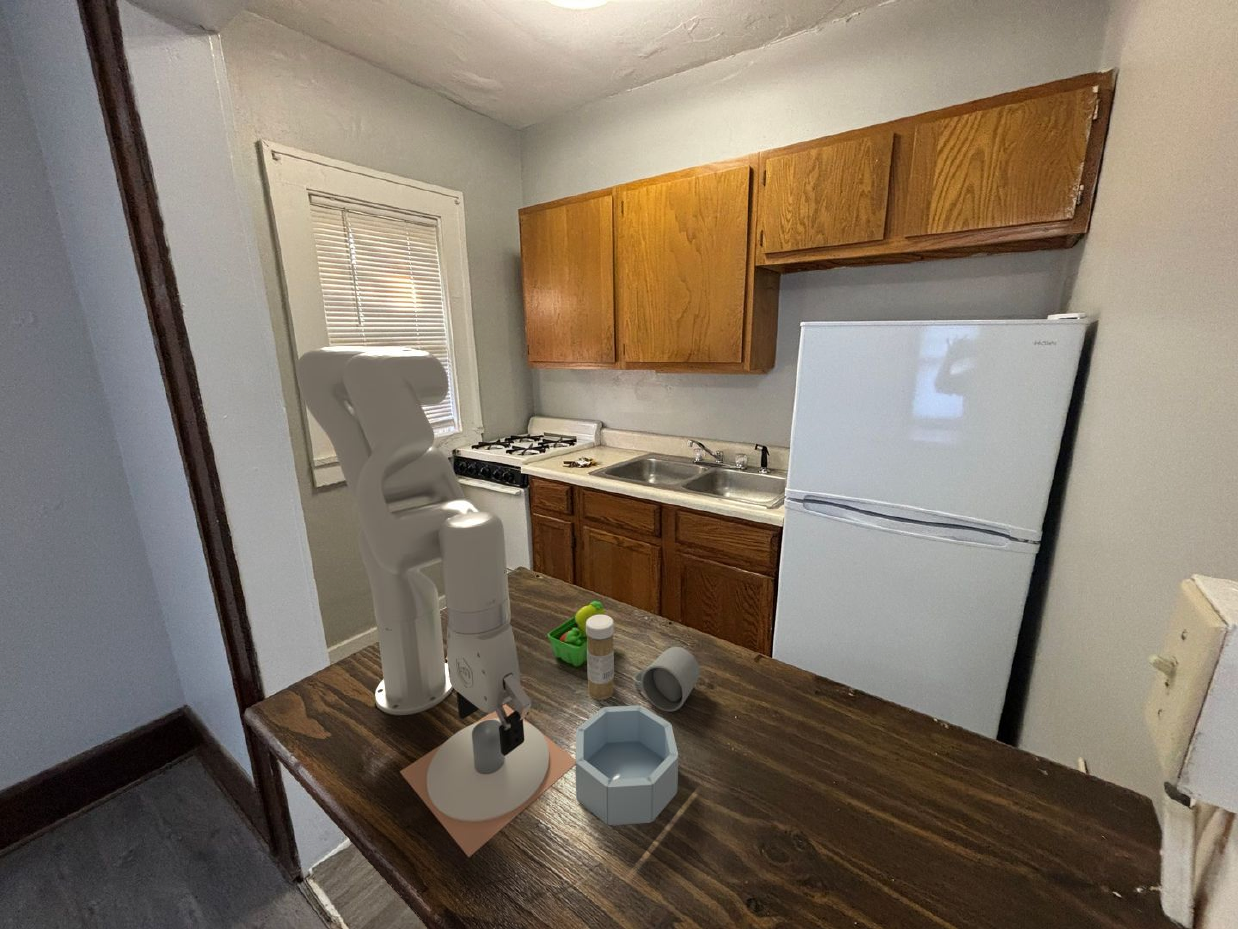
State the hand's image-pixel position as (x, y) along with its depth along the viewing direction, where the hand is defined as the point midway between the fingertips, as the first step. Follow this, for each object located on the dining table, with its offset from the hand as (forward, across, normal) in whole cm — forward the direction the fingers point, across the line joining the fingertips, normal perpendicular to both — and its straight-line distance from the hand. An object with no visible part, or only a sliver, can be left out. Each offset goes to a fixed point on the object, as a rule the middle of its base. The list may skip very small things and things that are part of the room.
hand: (490, 729), depth 63 cm
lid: (+6, -1, 0) cm, 7 cm away
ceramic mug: (+8, +8, +28) cm, 30 cm away
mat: (+7, -1, 0) cm, 7 cm away
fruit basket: (+7, -10, +27) cm, 30 cm away
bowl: (+8, +14, +11) cm, 19 cm away
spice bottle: (+7, 0, +21) cm, 22 cm away
